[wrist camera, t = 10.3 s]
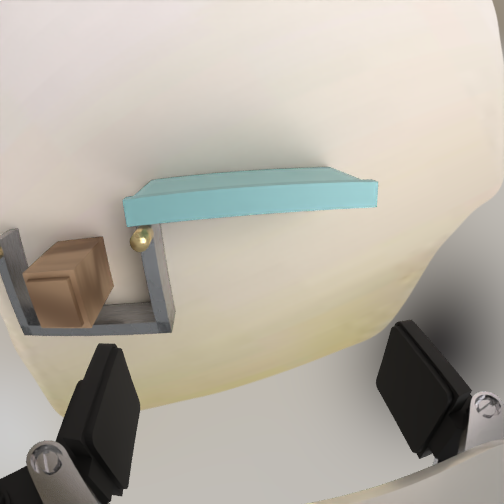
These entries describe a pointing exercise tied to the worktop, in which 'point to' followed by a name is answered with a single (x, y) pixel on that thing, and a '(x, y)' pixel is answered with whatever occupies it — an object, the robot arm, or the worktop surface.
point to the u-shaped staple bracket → (111, 316)
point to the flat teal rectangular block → (247, 194)
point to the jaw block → (70, 283)
